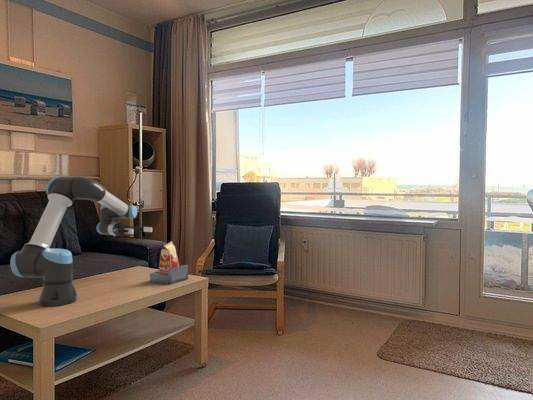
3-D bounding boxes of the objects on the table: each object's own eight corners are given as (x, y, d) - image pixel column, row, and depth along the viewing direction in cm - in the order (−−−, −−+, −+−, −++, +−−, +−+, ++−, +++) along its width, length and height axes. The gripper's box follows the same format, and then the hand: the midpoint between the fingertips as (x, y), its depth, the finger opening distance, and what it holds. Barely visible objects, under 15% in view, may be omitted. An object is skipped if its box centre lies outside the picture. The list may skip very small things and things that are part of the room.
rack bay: (170, 284, 210) (170, 269, 210) (150, 281, 218) (149, 266, 218) (188, 279, 222) (188, 265, 222) (168, 276, 230) (168, 262, 230)
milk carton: (168, 275, 226) (168, 240, 226) (181, 276, 222) (180, 241, 221) (157, 278, 218) (156, 242, 218) (170, 280, 214) (169, 243, 213)
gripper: (134, 233, 246) (159, 235, 235) (99, 237, 224) (124, 239, 213) (134, 221, 245) (159, 222, 235) (99, 223, 224) (124, 225, 213)
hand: (142, 230), depth 224 cm, fingers open, 13 cm apart
